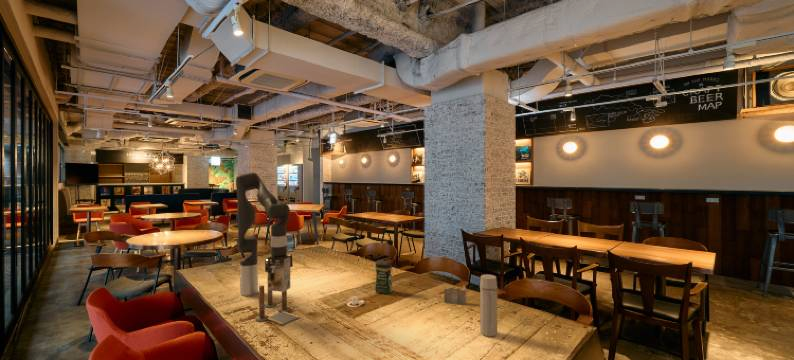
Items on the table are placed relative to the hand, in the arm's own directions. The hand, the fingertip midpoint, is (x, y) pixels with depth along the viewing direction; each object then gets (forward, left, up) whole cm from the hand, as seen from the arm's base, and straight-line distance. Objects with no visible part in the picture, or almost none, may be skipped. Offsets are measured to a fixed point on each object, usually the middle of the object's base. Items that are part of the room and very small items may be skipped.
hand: (279, 278), depth 172 cm
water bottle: (+90, +40, -20) cm, 101 cm away
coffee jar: (+19, +58, -20) cm, 64 cm away
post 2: (-18, +7, -19) cm, 28 cm away
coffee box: (0, 0, -5) cm, 6 cm away
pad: (+2, 0, -19) cm, 19 cm away
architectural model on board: (+61, +67, -20) cm, 92 cm away
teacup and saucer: (+20, +33, -20) cm, 44 cm away
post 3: (-6, +7, -19) cm, 22 cm away
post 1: (-6, -6, -19) cm, 21 cm away
